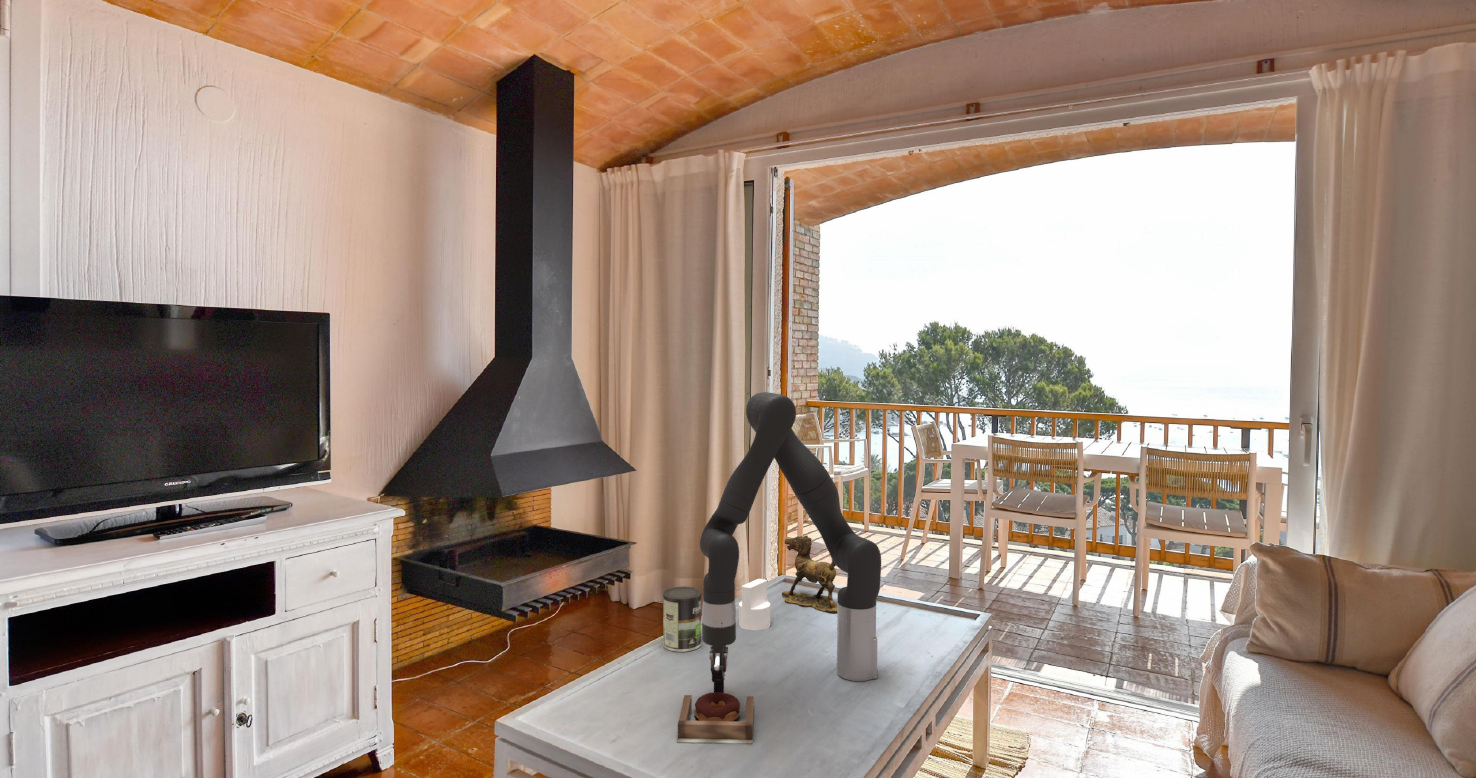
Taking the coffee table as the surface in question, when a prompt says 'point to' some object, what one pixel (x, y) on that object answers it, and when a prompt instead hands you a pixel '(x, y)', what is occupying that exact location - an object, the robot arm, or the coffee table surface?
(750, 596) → the base with upright slab
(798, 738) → the coffee table surface
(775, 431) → the robot arm
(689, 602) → the coffee can
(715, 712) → the donut
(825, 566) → the figurine
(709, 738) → the walnut pocket
